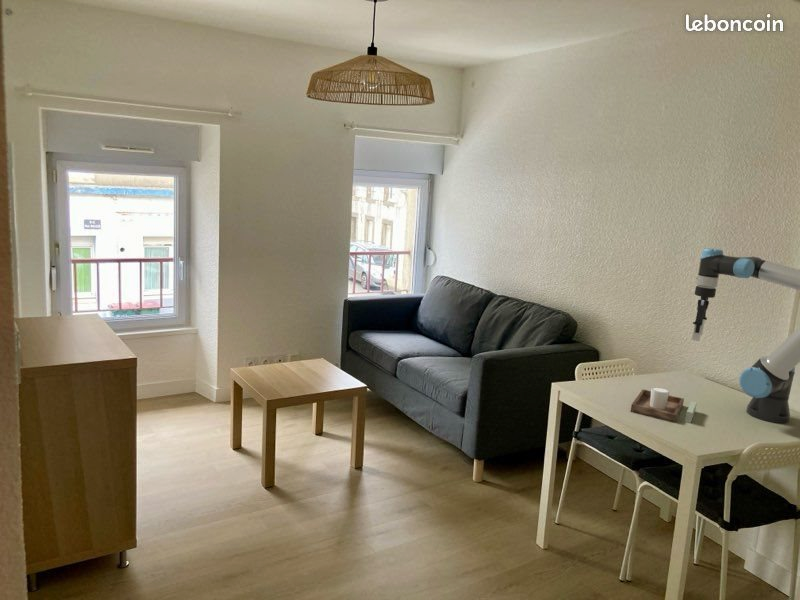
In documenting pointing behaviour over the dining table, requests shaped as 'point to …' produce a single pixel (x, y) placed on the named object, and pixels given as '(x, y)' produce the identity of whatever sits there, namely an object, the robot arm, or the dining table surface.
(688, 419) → the rail
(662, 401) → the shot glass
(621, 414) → the dining table surface
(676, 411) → the tray
